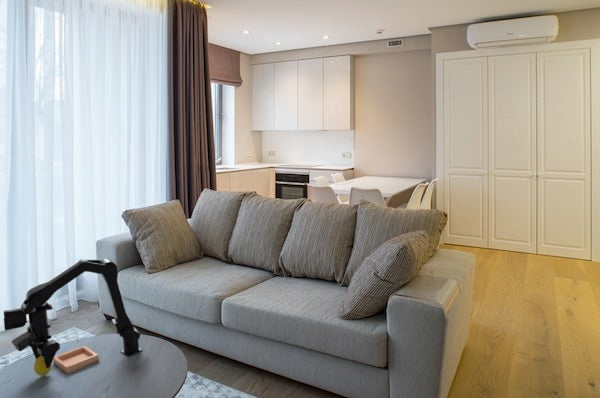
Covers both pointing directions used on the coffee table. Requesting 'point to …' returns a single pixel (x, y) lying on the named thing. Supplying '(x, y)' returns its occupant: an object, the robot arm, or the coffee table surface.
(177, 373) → the coffee table surface
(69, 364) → the dish
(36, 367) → the lemon
